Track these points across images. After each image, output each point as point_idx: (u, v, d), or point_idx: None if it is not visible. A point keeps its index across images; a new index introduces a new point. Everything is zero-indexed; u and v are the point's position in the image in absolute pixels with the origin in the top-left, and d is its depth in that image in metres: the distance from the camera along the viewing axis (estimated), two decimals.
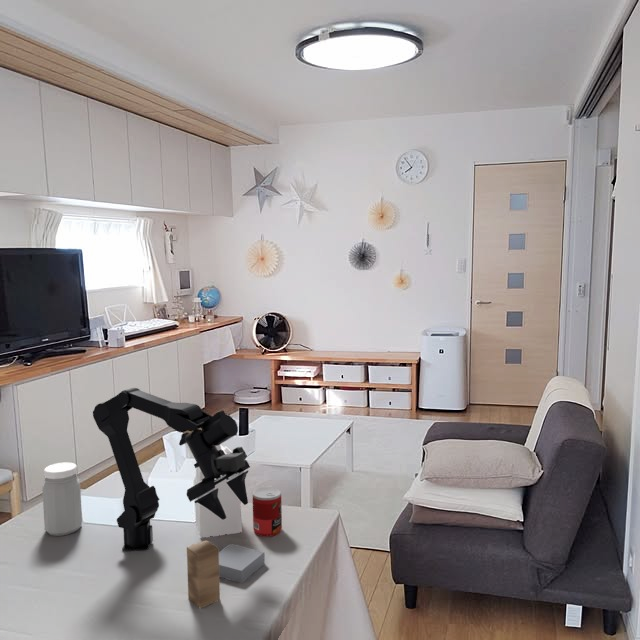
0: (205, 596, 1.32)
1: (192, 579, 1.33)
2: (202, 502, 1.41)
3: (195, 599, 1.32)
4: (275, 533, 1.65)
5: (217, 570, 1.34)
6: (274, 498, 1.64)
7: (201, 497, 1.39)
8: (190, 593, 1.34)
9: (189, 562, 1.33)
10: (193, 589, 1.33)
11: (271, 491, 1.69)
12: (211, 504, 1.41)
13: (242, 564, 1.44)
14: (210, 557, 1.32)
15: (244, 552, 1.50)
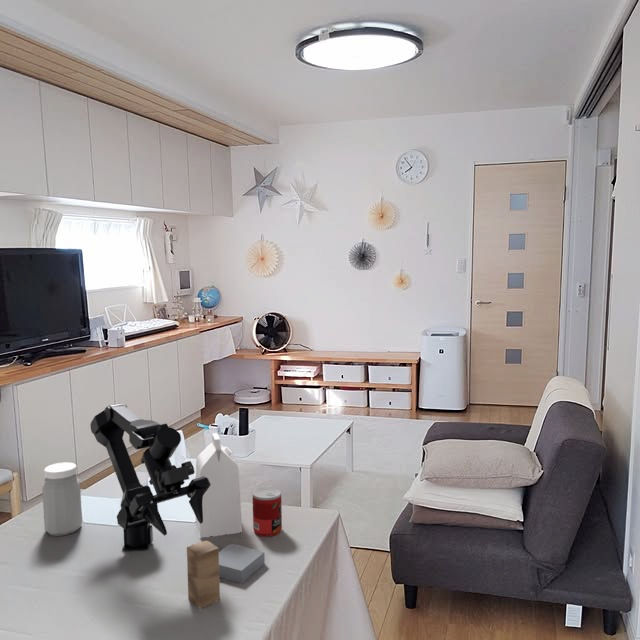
0: (205, 596, 1.32)
1: (192, 579, 1.33)
2: (146, 517, 1.39)
3: (195, 599, 1.32)
4: (275, 533, 1.65)
5: (217, 570, 1.34)
6: (274, 498, 1.64)
7: (141, 511, 1.38)
8: (190, 593, 1.34)
9: (189, 562, 1.33)
10: (193, 589, 1.33)
11: (271, 491, 1.69)
12: (153, 519, 1.38)
13: (242, 564, 1.44)
14: (210, 557, 1.32)
15: (244, 552, 1.50)
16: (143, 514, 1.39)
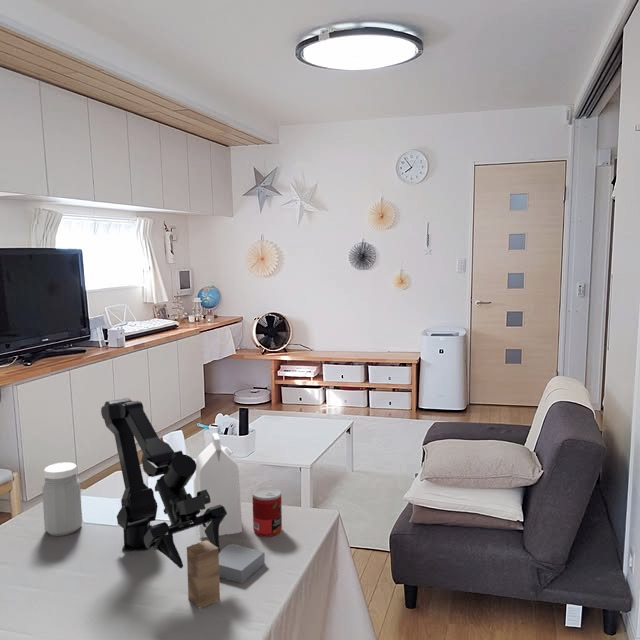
0: (205, 596, 1.32)
1: (192, 579, 1.33)
2: (161, 549, 1.34)
3: (195, 599, 1.32)
4: (275, 533, 1.65)
5: (217, 570, 1.34)
6: (274, 498, 1.64)
7: (155, 543, 1.33)
8: (190, 593, 1.34)
9: (189, 562, 1.33)
10: (193, 589, 1.33)
11: (271, 491, 1.69)
12: (168, 551, 1.33)
13: (242, 564, 1.44)
14: (210, 557, 1.32)
15: (244, 552, 1.50)
16: (158, 546, 1.34)
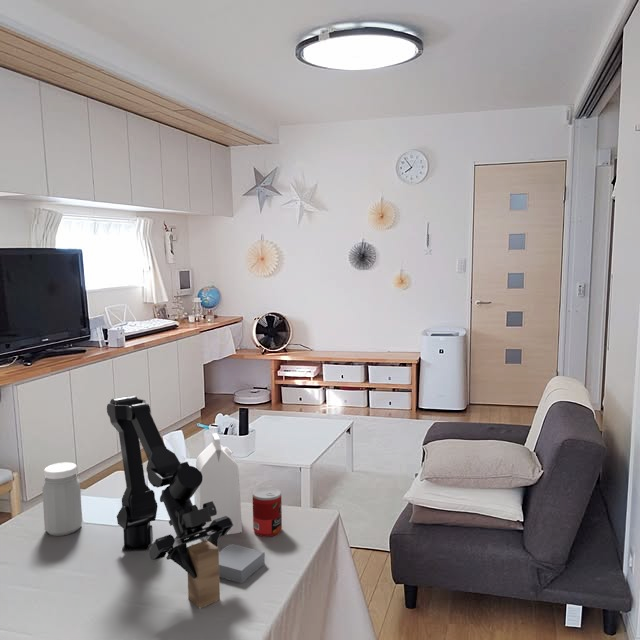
0: (205, 596, 1.32)
1: (192, 579, 1.33)
2: (175, 559, 1.34)
3: (195, 599, 1.32)
4: (275, 533, 1.65)
5: (217, 570, 1.34)
6: (274, 498, 1.64)
7: (169, 553, 1.32)
8: (190, 593, 1.34)
9: None
10: (193, 589, 1.33)
11: (271, 491, 1.69)
12: (182, 561, 1.33)
13: (242, 564, 1.44)
14: (210, 557, 1.32)
15: (244, 552, 1.50)
16: (172, 556, 1.33)
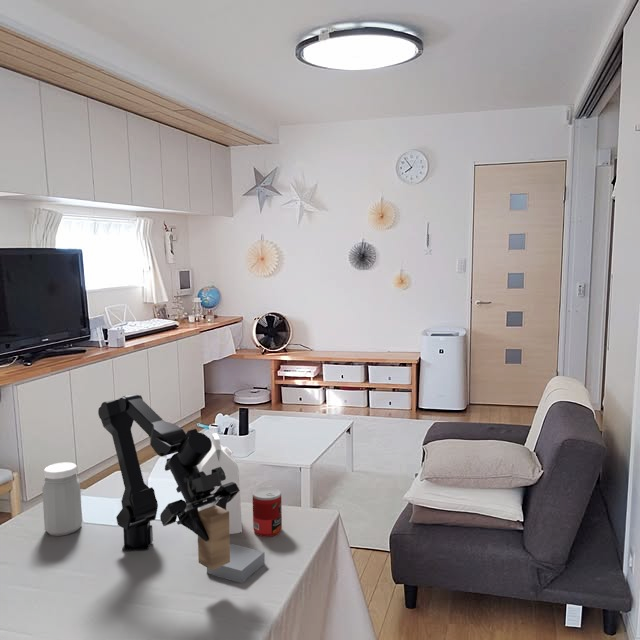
0: (217, 559, 1.35)
1: (203, 543, 1.35)
2: (185, 523, 1.36)
3: (207, 562, 1.35)
4: (275, 533, 1.65)
5: (228, 533, 1.36)
6: (274, 498, 1.64)
7: (181, 517, 1.34)
8: (201, 557, 1.36)
9: None
10: (204, 552, 1.35)
11: (271, 491, 1.69)
12: (193, 525, 1.35)
13: (242, 564, 1.44)
14: (221, 520, 1.35)
15: (244, 552, 1.50)
16: (183, 520, 1.35)
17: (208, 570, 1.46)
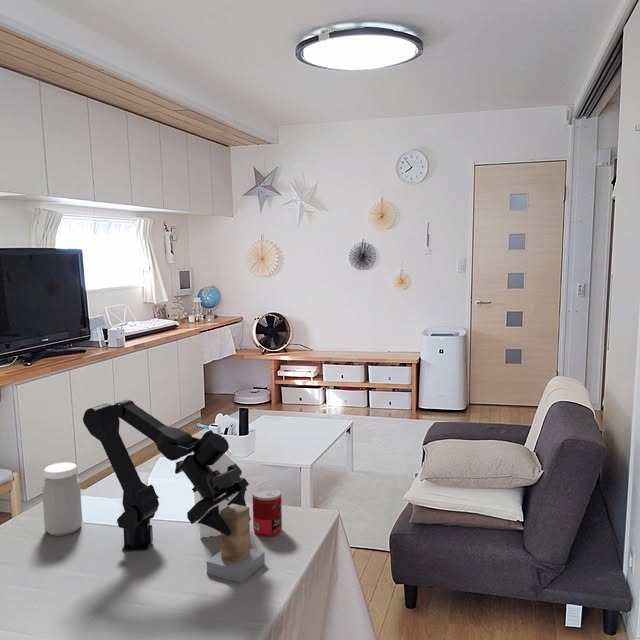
0: (242, 552, 1.45)
1: (228, 539, 1.45)
2: (205, 522, 1.43)
3: (232, 557, 1.45)
4: (275, 533, 1.65)
5: (248, 527, 1.48)
6: (274, 498, 1.64)
7: (203, 516, 1.41)
8: (224, 553, 1.46)
9: None
10: (229, 548, 1.45)
11: (271, 491, 1.69)
12: (214, 522, 1.43)
13: (242, 564, 1.44)
14: (244, 516, 1.46)
15: None
16: (204, 519, 1.42)
17: (208, 570, 1.46)
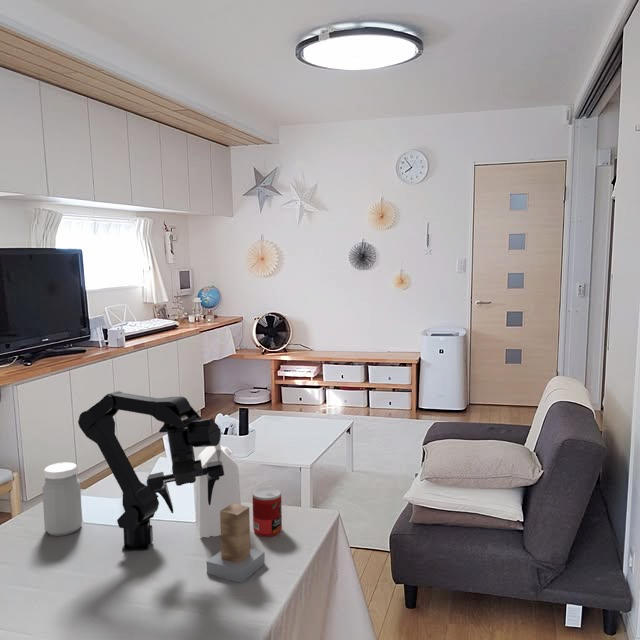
0: (242, 552, 1.45)
1: (228, 539, 1.45)
2: None
3: (232, 557, 1.45)
4: (275, 533, 1.65)
5: (248, 527, 1.48)
6: (274, 498, 1.64)
7: None
8: (224, 553, 1.46)
9: (223, 524, 1.45)
10: (229, 548, 1.45)
11: (271, 491, 1.69)
12: None
13: (242, 564, 1.44)
14: (244, 516, 1.46)
15: None
16: None
17: (208, 570, 1.46)
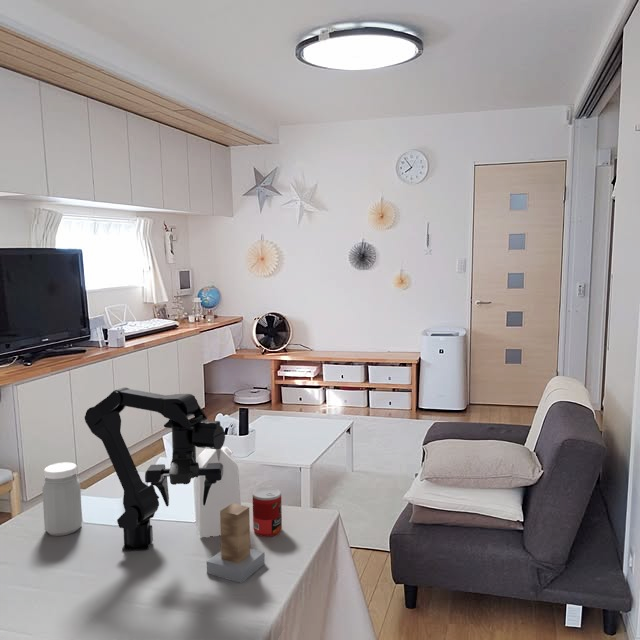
0: (242, 552, 1.45)
1: (228, 539, 1.45)
2: None
3: (232, 557, 1.45)
4: (275, 533, 1.65)
5: (248, 527, 1.48)
6: (274, 498, 1.64)
7: None
8: (224, 553, 1.46)
9: (223, 524, 1.45)
10: (229, 548, 1.45)
11: (271, 491, 1.69)
12: None
13: (242, 564, 1.44)
14: (244, 516, 1.46)
15: None
16: None
17: (208, 570, 1.46)
